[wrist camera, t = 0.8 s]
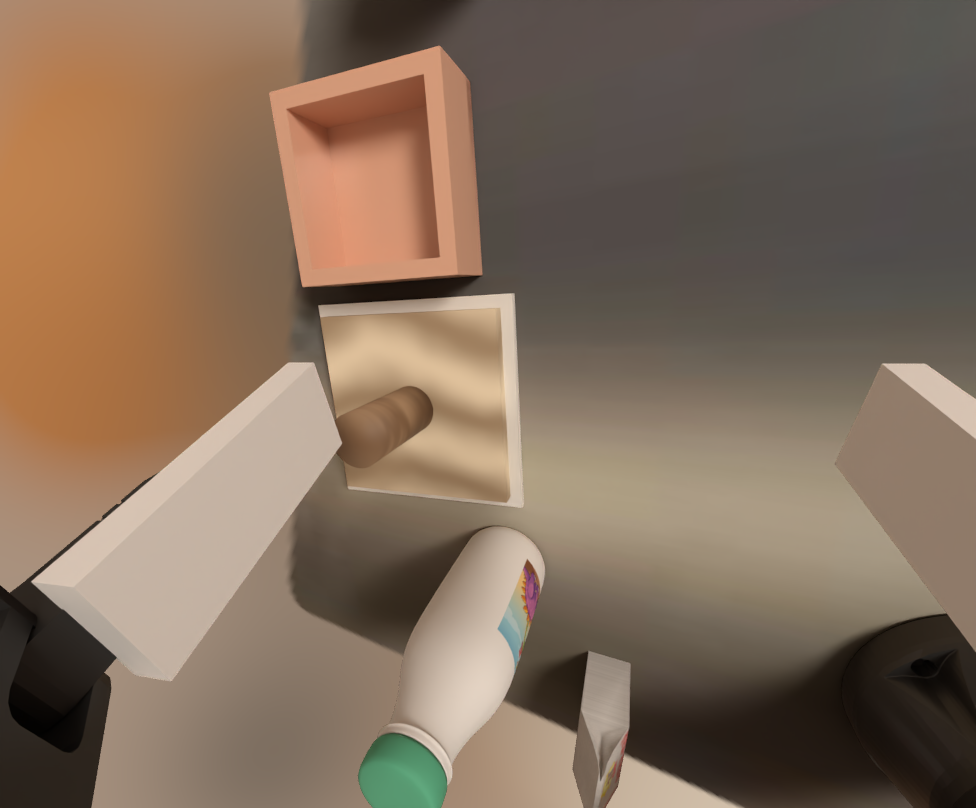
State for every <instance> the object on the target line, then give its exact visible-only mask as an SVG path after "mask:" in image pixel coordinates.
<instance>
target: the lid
mask: <svg viewBox="0 0 976 808" xmlns="http://www.w3.org/2000/svg"><path fill="white" fill-rule="evenodd" d="M320 320H321V326H322V332H323V338H324V344H325V351H326V357H327V363H328V369H329V375H330V381H331V387H332V394H333V400H334V406H335V412H336V418H337V419H336V420H335V424H336V427H337V430H338V433H339V436H340V439H341V441H342V444H341V446H340V447H339V449H338V450H337V451H336V453H337V454H338V456H339V457H340V458H341V459H342V460H343V461H344V467H345V473H346V479H347V486H352V487H361V488H371V489H380V490H390V491H399V492H409V493H418V494H428V495H437V496H447V497H456V498H466V499H475V500H485V501H494V502H504V503H507V502H508V500H509V498H510V496H511V494H510V476H509V457H508V439H507V421H506V402H505V384H504V365H503V347H502V328H501V310H500V308H485V309H465V310H445V311H426V312H406V313H386V314H366V315H347V316H328V317H320Z"/></svg>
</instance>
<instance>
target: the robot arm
mask: <svg viewBox="0 0 976 808" xmlns="http://www.w3.org/2000/svg"><path fill="white" fill-rule="evenodd" d="M341 444H342V441H341V439H340V436H339V433H338V430H337V427H336V424H335V422H334V419H333V416H332V413H331V410H330V407H329V404H328V402H327V399H326V396H325V393H324V390H323V387H322V385H321V382H320V379H319V376H318V373H317V370H316V368H315V365H314V363H287V364H286V365H285V366H284V367H283V368H282V369H280V370H279V371H278V372H277V373H276V374H275V375H273V376H272V377H271V378H270V379H269V380H268V381H266V382H265V383H264V384H263V385H261V386H260V387H259V388H258V389H257V390H256V391H255V392H253V393H252V394H251V395H250V396H249V397H247V398H246V399H245V400H244V401H243V402H241V403H240V404H239V405H238V406H237V407H236V408H235V409H233V410H232V411H231V412H230V413H229V414H227V415H226V416H225V417H224V418H223V419H222V420H220V421H219V422H218V423H217V424H216V425H214V426H213V427H212V428H211V429H210V430H209V431H208V432H206V433H205V434H204V435H203V436H202V437H201V438H199V439H198V440H197V441H196V442H194V443H193V444H192V445H191V446H190V447H189V448H187V449H186V450H185V451H184V452H183V453H182V454H180V455H179V456H178V457H177V458H176V459H175V460H173V461H172V462H171V463H170V464H169V465H167V466H166V467H165V468H164V469H163V470H162V471H160V472H159V473H157V474H155V475H154V476H152V477H150V478H148V479H147V480H145V481H144V482H142V483H141V484H140V485H139V486H138V487H136V488H135V489H134V490H133V491H132V492H131V493H129V494H128V495H127V496H126V497H125V498H123V499H122V500H121V501H122V503H121V504H116V505H115V506H114V507H113V508H111V509H110V510H109V511H108V512H107V513H106V514H104V515H103V516H102V517H103V518H102V520H101V521H96V522H95V523H94V524H92V525H91V526H90V527H89V528H88V529H87V530H85V531H84V532H83V533H82V534H81V535H79V536H78V537H77V538H76V539H75V540H73V541H72V542H71V543H70V544H69V545H67V546H66V547H65V548H64V549H63V550H62V551H60V552H59V553H58V554H57V555H56V556H54V557H53V558H52V559H51V560H50V561H48V562H47V563H46V564H45V565H44V566H43V567H41V568H40V569H39V570H38V571H37V572H35V573H34V574H33V575H32V576H31V577H29V578H28V579H27V580H26V581H25V582H23V583H22V584H21V585H20V586H19V587H17V588H16V589H14V590H13V591H12V592H10V593H9V592H7V591H6V590H5V589H4V588H3V587H2V586H0V808H91V806H92V800H93V794H94V788H95V781H96V776H97V770H98V764H99V759H100V753H101V747H102V741H103V734H104V729H105V723H106V717H107V711H108V705H109V699H110V693H111V681H110V677H109V676H108V675H106V674H105V673H104V672H105V671H106V669H107V668H108V667H109V666H110V665H111V664H112V663H113V661H114V660H115V659H116V658H117V659H118V660H119V661H120V662H121V663H122V664H123V665H124V666H126V667H127V668H128V669H129V670H130V671H131V672H132V673H133V674H135V675H137V676H143V677H149V678H154V679H160V680H166V681H172V680H173V678H174V677H175V676H176V674H177V673H178V672H179V670H180V669H181V667H182V666H183V665H184V663H185V662H186V660H187V659H188V658H189V656H190V655H191V653H192V652H193V651H194V649H195V648H196V647H197V645H198V644H199V642H200V641H201V639H202V638H203V637H204V635H205V634H206V633H207V631H208V630H209V628H210V627H211V626H212V624H213V623H214V621H215V620H216V619H217V617H218V616H219V614H220V613H221V611H222V610H223V609H224V607H225V606H226V605H227V603H228V602H229V601H230V599H231V598H232V596H233V595H234V593H235V592H236V591H237V589H238V588H239V587H240V585H241V584H242V582H243V581H244V580H245V578H246V577H247V575H248V574H249V573H250V571H251V570H252V568H253V567H254V566H255V564H256V563H257V561H258V560H259V559H260V557H261V556H262V555H263V553H264V552H265V550H266V549H267V548H268V546H269V545H270V543H271V542H272V541H273V539H274V538H275V536H276V535H277V533H278V532H279V531H280V529H281V528H282V527H283V525H284V524H285V522H286V521H287V520H288V518H289V517H290V516H291V514H292V513H293V511H294V510H295V509H296V507H297V506H298V504H299V503H300V502H301V500H302V499H303V497H304V496H305V495H306V493H307V492H308V490H309V489H310V488H311V486H312V485H313V483H314V482H315V481H316V479H317V478H318V476H319V475H320V474H321V472H322V471H323V470H324V468H325V467H326V465H327V464H328V463H329V461H330V460H331V458H332V457H333V456H334V454H335V453H336V451H337V450H338V449H339V447H340V446H341ZM835 465H836V466H837V468H838V469H839V470H840V472H841V473H842V474H843V476H844V477H845V478H846V480H847V481H848V482H849V484H850V485H851V486H852V488H853V489H854V490H855V492H856V493H857V494H858V496H859V497H860V498H861V500H862V501H863V502H864V504H865V505H866V506H867V508H868V509H869V510H870V512H871V513H872V514H873V516H874V517H875V518H876V520H877V521H878V522H879V524H880V525H881V526H882V528H883V529H884V530H885V532H886V533H887V534H888V536H889V537H890V538H891V540H892V541H893V542H894V544H895V545H896V546H897V548H898V549H899V550H900V552H901V553H902V554H903V556H904V557H905V558H906V560H907V561H908V562H909V564H910V565H911V566H912V568H913V569H914V570H915V572H916V573H917V574H918V576H919V577H920V578H921V580H922V581H923V582H924V584H925V585H926V586H927V588H928V589H929V590H930V592H931V593H932V594H933V596H934V597H935V598H936V600H937V601H938V602H939V604H940V605H941V606H942V608H943V609H944V610H945V612H946V613H947V614H948V615H947V616H938V617H931V618H925V619H921V620H916V621H913V622H909V623H906V624H903V625H900V626H897V627H895V628H893V629H890V630H888V631H886V632H884V633H882V634H880V635H879V636H877V637H875V638H874V639H872V640H871V641H870V642H868V643H867V644H866V645H865V646H863V647H862V648H861V649H860V650H859V651H858V652H857V653H856V655H855V656H854V657H853V658H852V660H851V661H850V663H849V665H848V667H847V669H846V671H845V674H844V677H843V681H842V701H843V706H844V709H845V712H846V714H847V716H848V718H849V721H850V723H851V725H852V727H853V729H854V731H855V733H856V735H857V737H858V739H859V741H860V743H861V745H862V746H863V748H864V749H865V751H866V753H867V754H868V756H869V757H870V758H871V760H872V761H873V762H874V763H875V764H876V766H877V767H878V768H879V769H880V770H881V771H882V772H883V773H884V774H885V775H886V776H887V777H888V778H889V779H890V780H891V781H892V783H893V784H894V785H895V786H896V787H897V788H898V790H899V791H900V792H901V793H902V794H903V796H904V797H905V798H906V799H907V800H908V801H909V803H910V804H911V805H912V806H913V807H914V808H976V399H974V398H973V397H972V396H970V395H969V394H967V393H966V392H964V391H963V390H962V389H960V388H959V387H957V386H956V385H955V384H953V383H952V382H950V381H949V380H947V379H946V378H945V377H943V376H942V375H940V374H939V373H937V372H936V371H935V370H933V369H932V368H930V367H929V366H928V365H926V364H882V365H881V367H880V369H879V371H878V373H877V375H876V377H875V379H874V381H873V384H872V386H871V388H870V390H869V392H868V394H867V396H866V398H865V401H864V403H863V405H862V407H861V409H860V411H859V413H858V415H857V417H856V420H855V422H854V424H853V426H852V428H851V430H850V432H849V434H848V436H847V439H846V441H845V443H844V445H843V447H842V449H841V451H840V453H839V456H838V458H837V460H836V462H835Z"/></svg>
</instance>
